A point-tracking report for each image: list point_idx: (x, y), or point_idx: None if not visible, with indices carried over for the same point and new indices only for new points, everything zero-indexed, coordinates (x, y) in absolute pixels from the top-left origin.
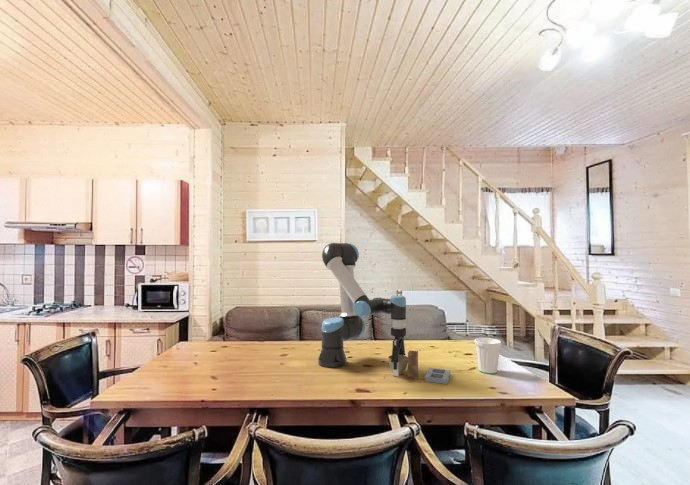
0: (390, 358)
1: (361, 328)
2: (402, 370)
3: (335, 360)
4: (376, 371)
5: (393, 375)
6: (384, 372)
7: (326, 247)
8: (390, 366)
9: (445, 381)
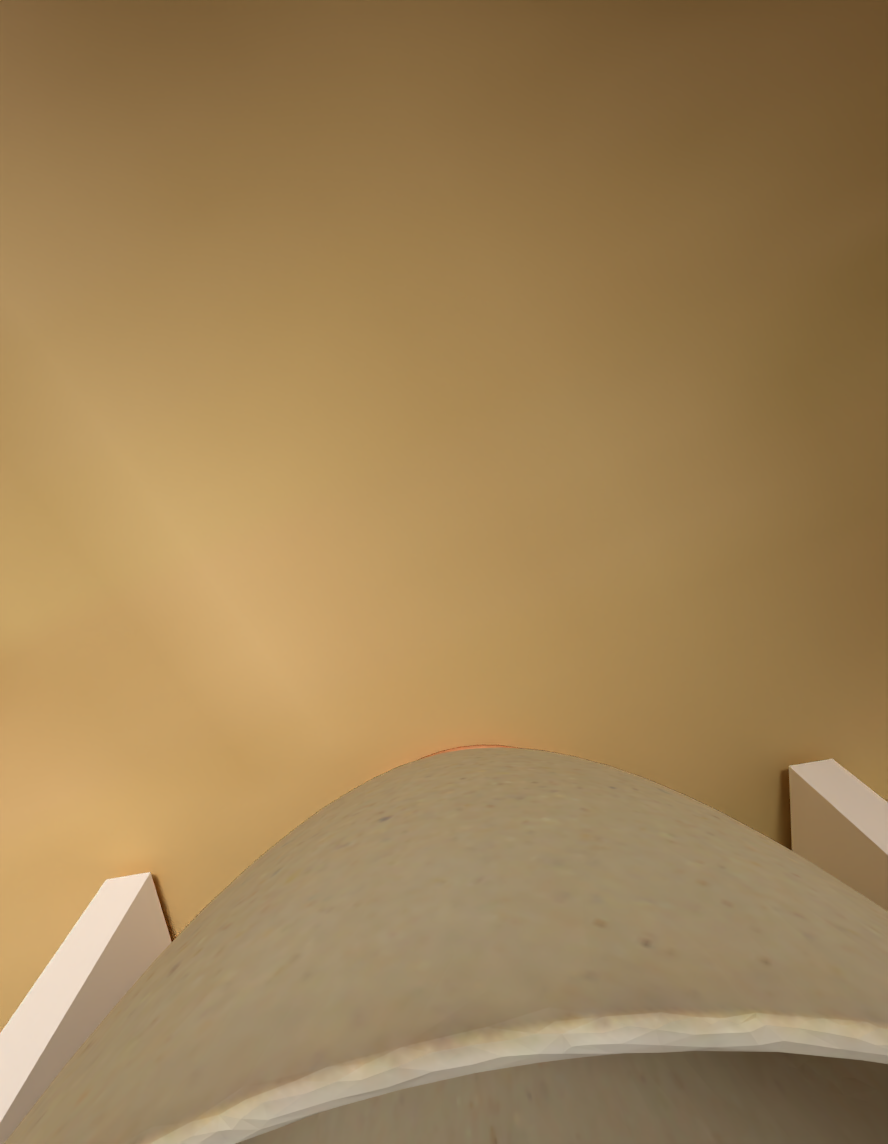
0: (686, 899)
1: None
2: (361, 1139)
3: None
4: (197, 257)
5: (109, 905)
6: (267, 542)
7: None
8: (276, 843)
9: None
